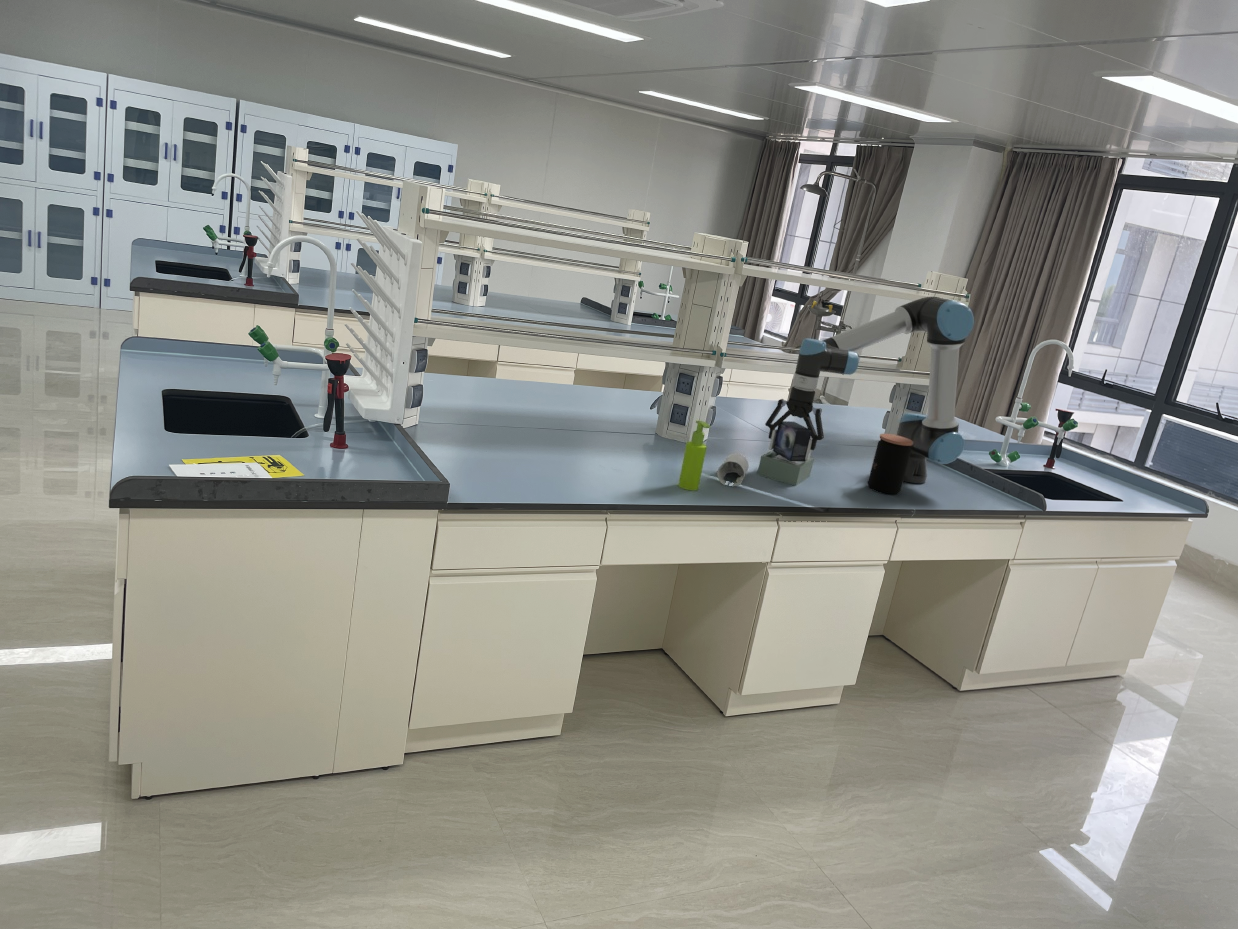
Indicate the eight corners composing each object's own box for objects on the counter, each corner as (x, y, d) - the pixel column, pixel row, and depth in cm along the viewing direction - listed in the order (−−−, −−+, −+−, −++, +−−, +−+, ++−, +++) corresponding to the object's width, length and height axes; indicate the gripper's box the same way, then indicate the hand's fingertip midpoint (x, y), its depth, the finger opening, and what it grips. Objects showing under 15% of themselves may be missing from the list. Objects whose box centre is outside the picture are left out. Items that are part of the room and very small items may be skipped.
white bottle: (748, 475, 280) (753, 451, 278) (740, 489, 263) (746, 464, 261) (724, 469, 282) (729, 446, 280) (715, 483, 265) (720, 458, 262)
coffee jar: (874, 483, 297) (887, 432, 292) (904, 493, 291) (918, 441, 286) (861, 487, 289) (874, 435, 284) (891, 497, 283) (906, 444, 278)
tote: (809, 478, 288) (814, 458, 286) (795, 488, 274) (800, 467, 272) (772, 467, 294) (776, 448, 292) (756, 476, 280) (761, 455, 278)
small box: (771, 451, 285) (777, 420, 282) (787, 451, 288) (794, 421, 285) (789, 461, 276) (796, 429, 273) (806, 461, 279) (813, 430, 276)
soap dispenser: (685, 491, 252) (698, 424, 246) (675, 483, 258) (687, 418, 252) (703, 492, 254) (716, 425, 249) (692, 484, 260) (705, 419, 255)
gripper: (764, 380, 277) (750, 446, 283) (837, 398, 268) (821, 465, 274) (771, 378, 284) (758, 442, 290) (843, 395, 274) (827, 461, 280)
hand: (789, 454), depth 282 cm, fingers closed on small box, 11 cm apart
